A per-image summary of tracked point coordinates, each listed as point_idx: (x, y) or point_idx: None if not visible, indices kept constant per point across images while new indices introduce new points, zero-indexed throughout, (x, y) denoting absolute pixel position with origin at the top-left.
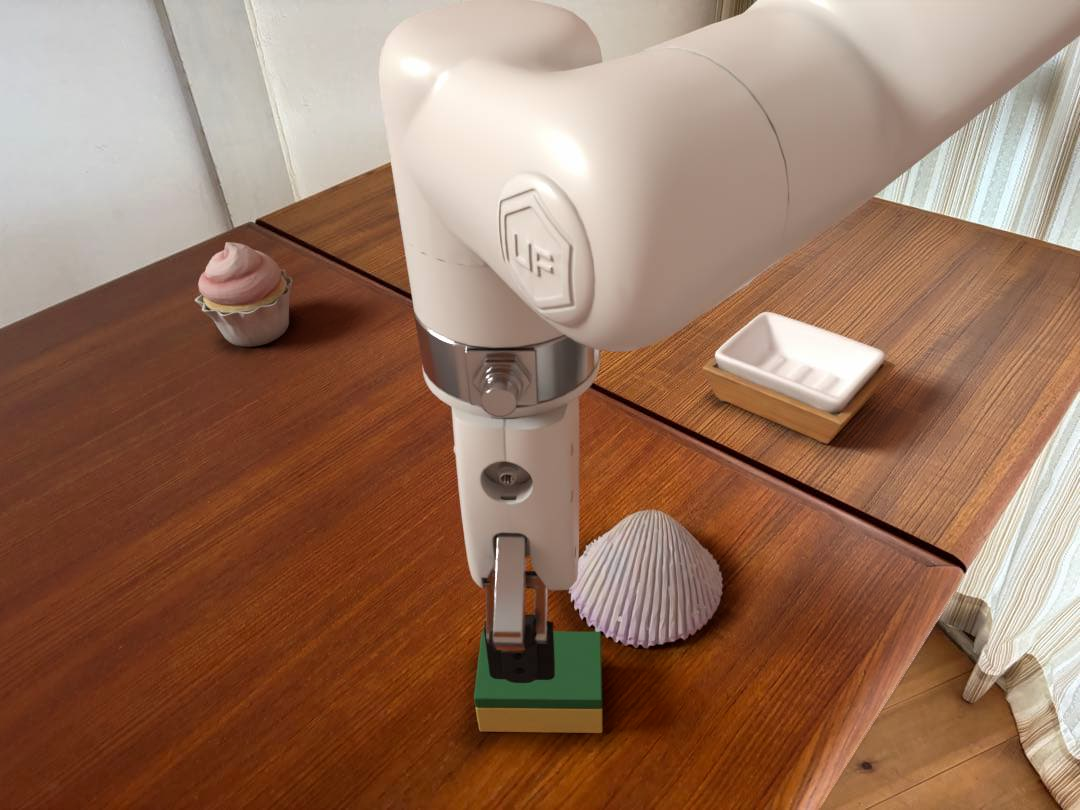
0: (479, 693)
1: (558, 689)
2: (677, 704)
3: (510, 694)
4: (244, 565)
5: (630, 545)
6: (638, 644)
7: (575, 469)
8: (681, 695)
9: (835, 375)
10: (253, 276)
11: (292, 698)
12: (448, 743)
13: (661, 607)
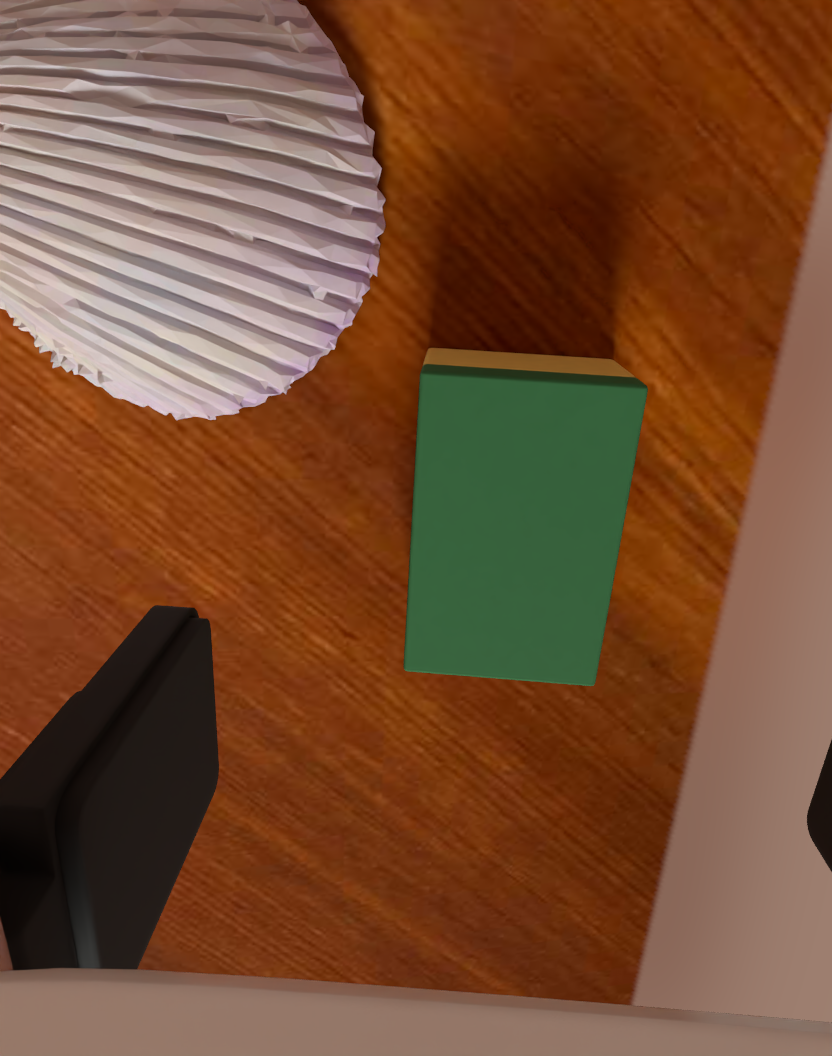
0: (583, 675)
1: (601, 499)
2: (557, 147)
3: (598, 611)
4: None
5: (82, 243)
6: (376, 240)
7: (22, 970)
8: (531, 131)
9: None
10: None
11: (465, 906)
12: None
13: (294, 156)
